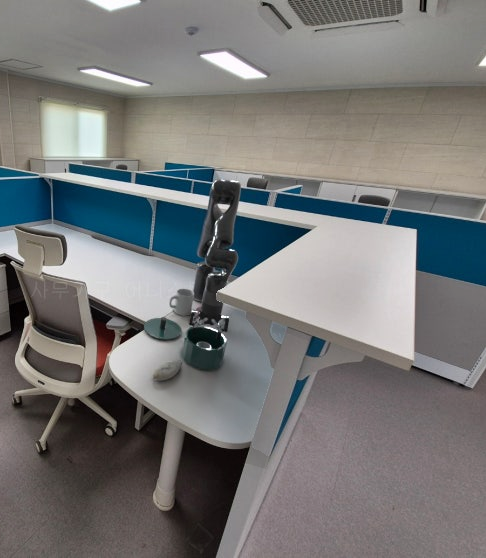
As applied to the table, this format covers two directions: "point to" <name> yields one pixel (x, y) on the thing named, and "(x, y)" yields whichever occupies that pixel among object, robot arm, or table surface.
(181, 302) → the mug
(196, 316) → the video game controller
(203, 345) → the steel cup
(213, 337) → the pot
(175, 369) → the decorative stone
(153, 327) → the lid
